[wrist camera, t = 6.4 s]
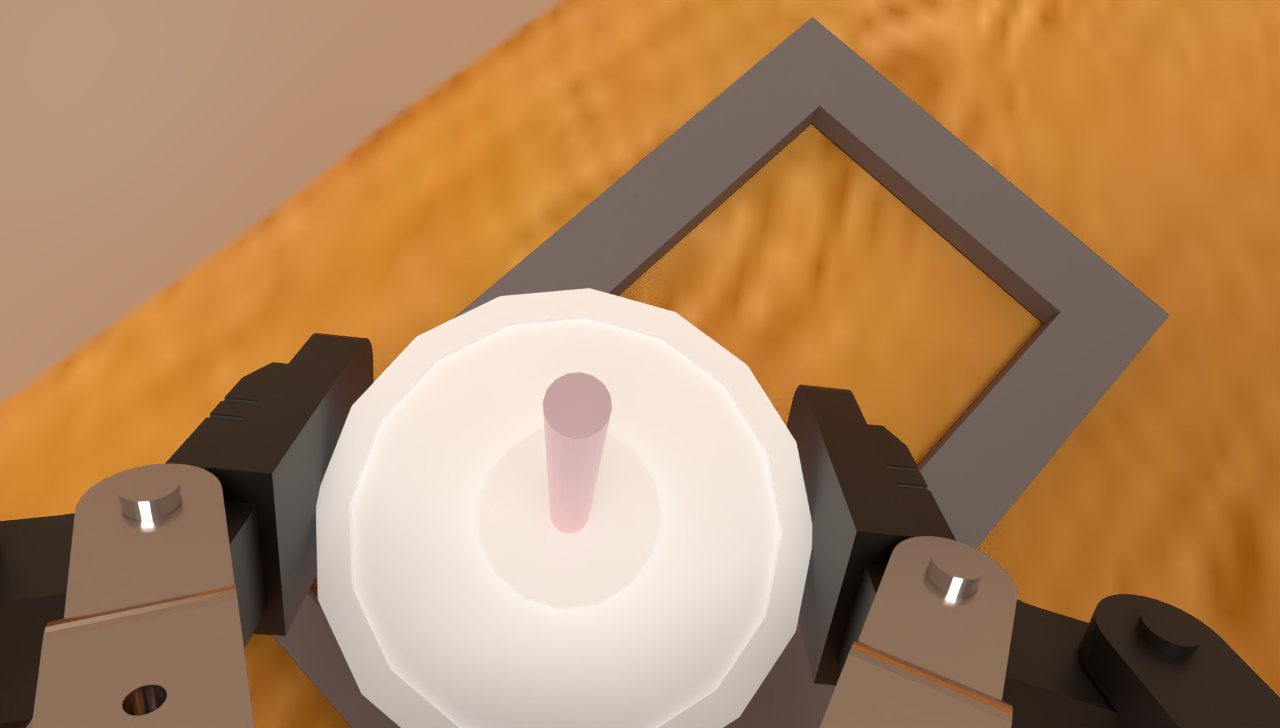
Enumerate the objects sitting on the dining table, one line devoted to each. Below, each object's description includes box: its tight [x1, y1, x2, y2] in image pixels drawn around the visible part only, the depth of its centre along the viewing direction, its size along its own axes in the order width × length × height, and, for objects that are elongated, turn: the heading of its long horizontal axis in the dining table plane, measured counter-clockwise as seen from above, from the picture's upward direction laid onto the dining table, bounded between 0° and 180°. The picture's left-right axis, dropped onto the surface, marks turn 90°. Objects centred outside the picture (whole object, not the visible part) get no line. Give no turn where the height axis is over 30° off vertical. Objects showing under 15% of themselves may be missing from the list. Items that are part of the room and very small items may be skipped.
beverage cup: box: [316, 288, 812, 728], centre depth 12 cm, size 6×6×14 cm
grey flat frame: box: [26, 17, 1169, 728], centre depth 19 cm, size 30×12×1 cm, turn 135°
